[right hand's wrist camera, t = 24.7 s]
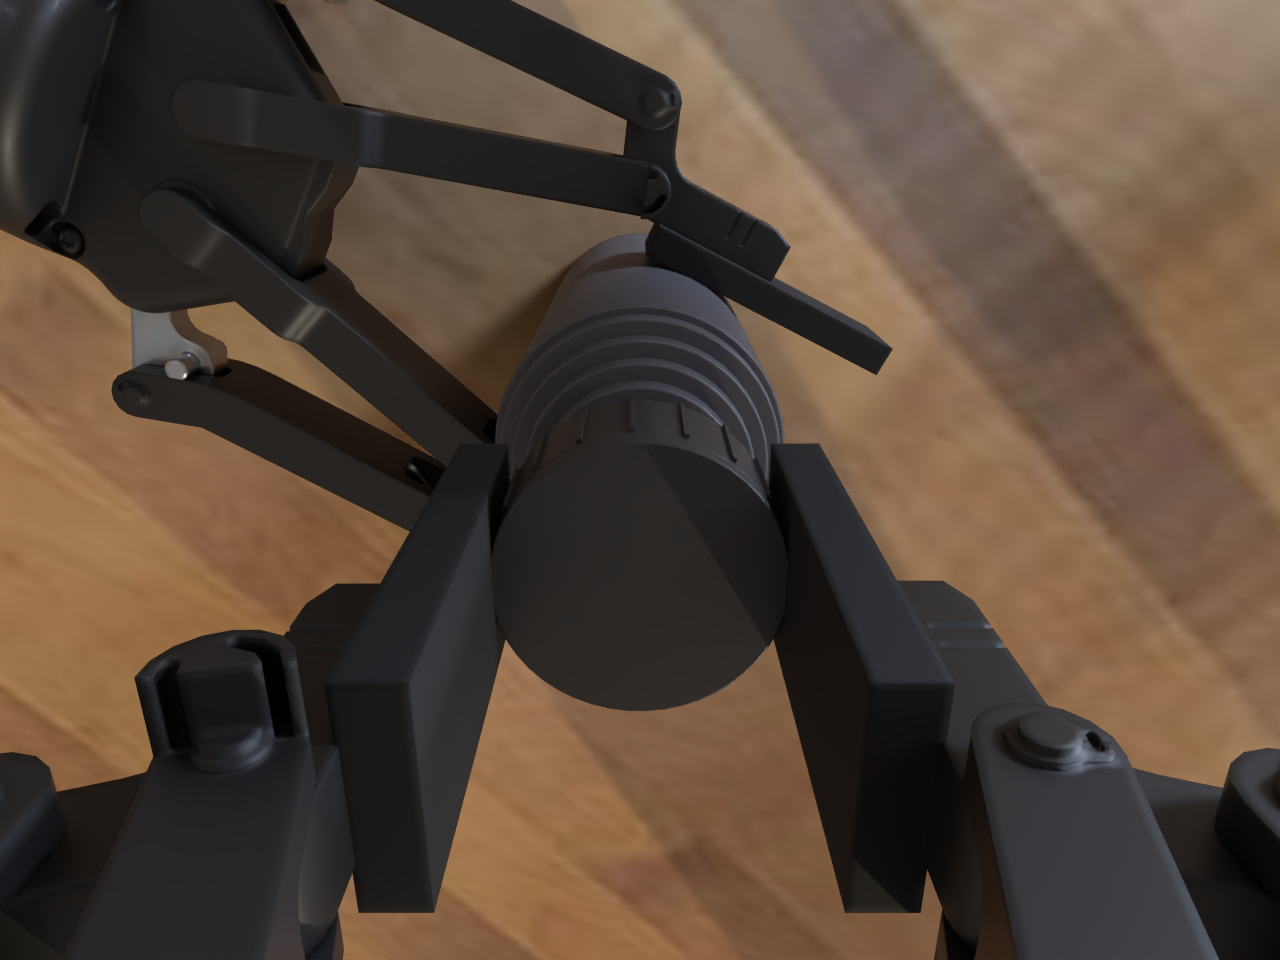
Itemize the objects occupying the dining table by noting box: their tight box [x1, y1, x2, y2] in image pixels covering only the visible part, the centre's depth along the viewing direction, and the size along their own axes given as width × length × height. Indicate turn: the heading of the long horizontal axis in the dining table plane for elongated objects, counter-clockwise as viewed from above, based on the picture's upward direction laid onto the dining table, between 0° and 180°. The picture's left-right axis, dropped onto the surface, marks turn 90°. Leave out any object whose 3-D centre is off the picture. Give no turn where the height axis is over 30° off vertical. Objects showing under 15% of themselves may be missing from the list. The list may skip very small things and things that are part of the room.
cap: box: [491, 397, 788, 711], centre depth 13 cm, size 4×4×2 cm
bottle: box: [495, 234, 784, 487], centre depth 21 cm, size 6×6×17 cm
